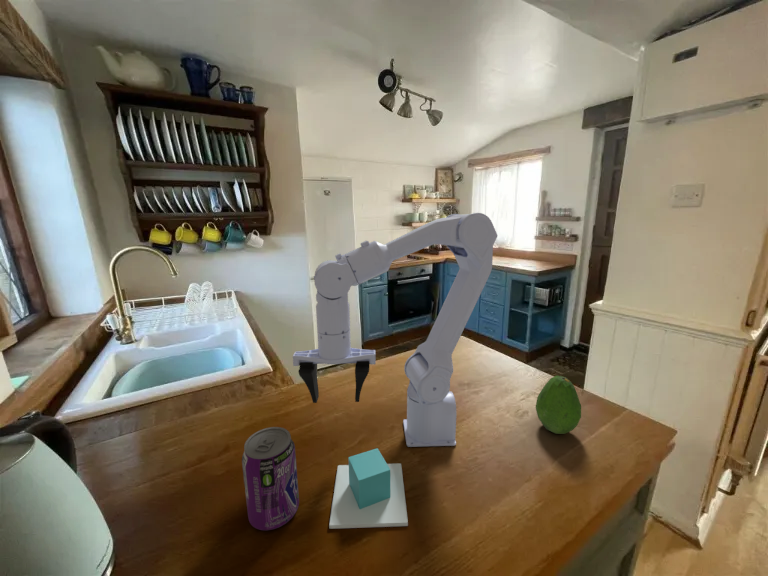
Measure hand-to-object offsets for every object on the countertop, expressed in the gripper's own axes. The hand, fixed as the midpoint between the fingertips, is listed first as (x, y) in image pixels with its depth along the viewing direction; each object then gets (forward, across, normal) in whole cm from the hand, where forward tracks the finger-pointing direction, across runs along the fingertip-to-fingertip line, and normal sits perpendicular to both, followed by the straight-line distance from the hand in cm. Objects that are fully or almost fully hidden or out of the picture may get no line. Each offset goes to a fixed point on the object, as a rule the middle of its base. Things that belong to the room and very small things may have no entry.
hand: (336, 399), depth 58 cm
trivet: (+10, -6, +11) cm, 16 cm away
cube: (+9, -6, +11) cm, 16 cm away
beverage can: (+10, +8, +14) cm, 19 cm away
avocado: (+10, -44, -3) cm, 45 cm away
